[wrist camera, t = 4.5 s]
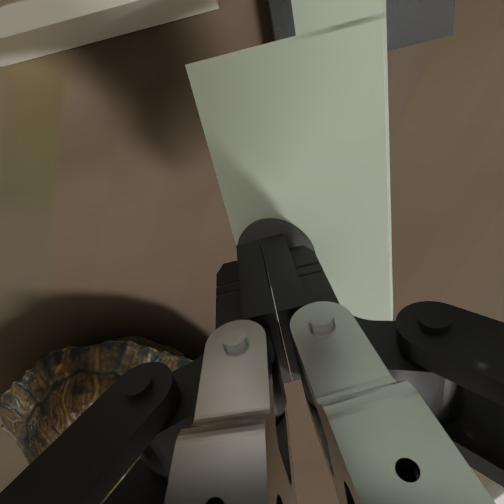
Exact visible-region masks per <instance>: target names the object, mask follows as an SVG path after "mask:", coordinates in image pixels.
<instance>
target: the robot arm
mask: <svg viewBox="0 0 504 504" xmlns="http://www.w3.org/2000/svg"><path fill="white" fill-rule="evenodd" d="M261 243H262V247H263V252H264V256H265V261H266V266H267V270H268V274H267V270H266V266H265V261H264V257H263V253H262V249H261V245H260V241H259V240H254V241H250V242H246V243H242V244H237V245H236V247H237V259H238V261H233V262H229V263H225V264H223V265H222V267H221V269H220V270H219V272H218V273H217V284H216V286H217V288H216V295H217V297H216V330H215V331H214V332H213V333H212V334H211V335H210V336H209V338H208V340H207V342H206V345H205V350H204V353H203V354H202V355H201V356H200V357H198V358H197V359H196V360H194V361H192V362H190V363H188V364H186V365H184V366H182V367H180V368H178V369H176V370H174V371H172V372H171V370H170V368H169V367H168V366H167V365H165V364H164V363H161V362H147V363H143V364H140V365H137V366H135V367H133V368H132V369H130V370H128V371H127V372H125V373H124V374H123V375H122V376H121V377H120V378H118V379H117V380H116V381H115V382H114V383H113V384H112V385H111V386H110V387H109V388H108V389H107V390H106V391H105V392H104V393H103V394H102V395H101V396H100V397H99V398H98V399H97V400H96V401H95V402H94V403H93V404H92V405H91V406H90V407H89V408H88V409H87V410H85V411H84V412H83V413H82V414H81V415H80V416H79V417H78V418H77V419H76V420H75V421H74V422H73V423H72V424H71V425H70V426H69V427H68V428H67V429H66V430H65V431H64V432H63V433H62V434H61V435H60V436H59V437H58V438H57V439H56V440H55V441H54V442H53V443H51V444H50V445H49V446H48V447H47V448H46V449H45V450H44V451H43V452H42V453H41V454H40V455H39V456H38V457H37V458H36V459H35V460H34V461H33V462H32V463H31V464H30V465H29V466H28V467H27V468H26V469H25V470H24V471H23V472H22V473H21V474H20V475H18V476H17V477H16V478H15V479H14V480H13V481H12V482H11V483H10V484H9V485H8V486H7V487H6V488H5V489H4V490H3V491H2V492H1V493H0V504H100V503H101V502H102V501H103V500H104V498H105V497H106V496H107V495H108V494H109V492H110V491H111V490H112V489H113V487H114V486H115V485H116V484H117V483H118V481H119V480H120V479H121V478H122V477H123V475H124V474H125V473H126V472H127V470H128V469H129V468H130V467H131V466H132V464H133V463H134V462H135V461H136V459H137V458H138V457H139V456H140V458H139V460H138V461H137V462H136V463H135V465H134V466H133V467H132V468H131V469H130V471H129V472H128V473H127V474H126V476H125V477H124V478H123V479H122V480H121V482H120V483H119V484H118V485H117V487H116V488H115V489H114V490H113V491H112V493H111V494H110V495H109V496H108V498H107V499H106V500H105V501H104V502H103V504H297V498H296V491H295V482H294V472H293V462H292V453H291V443H290V433H289V424H288V414H287V409H286V395H285V389H284V384H283V383H286V382H291V377H290V373H289V368H288V363H287V359H286V354H285V350H284V345H283V340H284V344H285V348H286V352H287V356H288V360H289V364H290V368H291V372H292V376H293V381H295V380H299V379H301V381H302V385H303V389H304V393H305V397H306V401H307V405H308V409H309V412H310V415H311V418H312V421H313V424H314V427H315V430H316V433H317V436H318V439H319V442H320V445H321V448H322V451H323V454H324V457H325V460H326V462H327V465H328V468H329V471H330V474H331V477H332V480H333V483H334V486H335V490H336V493H337V496H338V500H339V504H495V502H494V501H493V499H492V498H491V497H490V495H489V494H488V492H487V491H486V489H485V488H484V486H483V485H482V484H481V482H480V481H479V479H478V478H477V476H476V475H475V473H474V472H473V471H472V469H471V468H470V467H472V468H473V469H475V470H477V471H478V472H480V473H482V474H483V475H485V476H486V477H488V478H490V479H491V480H493V481H495V482H496V483H498V484H499V485H501V486H503V487H504V323H503V322H500V321H497V320H494V319H491V318H488V317H485V316H482V315H479V314H476V313H473V312H470V311H467V310H464V309H461V308H458V307H455V306H452V305H449V304H445V303H441V302H433V301H424V302H417V303H413V304H411V305H408V306H406V307H405V308H403V309H402V310H401V311H400V312H399V314H398V315H397V318H396V321H376V320H366V319H362V318H358V317H356V316H353V315H352V313H351V312H350V311H349V310H348V309H347V308H346V307H344V306H342V305H340V303H339V301H338V299H337V297H336V295H335V293H334V291H333V289H332V287H331V285H330V283H329V281H328V279H327V277H326V274H325V272H324V271H323V268H322V266H321V264H320V263H319V260H318V258H317V256H316V254H315V252H314V251H313V250H311V249H309V248H308V247H306V246H305V245H301V246H297V247H293V248H288V245H287V242H286V240H285V237H284V234H279V235H275V236H271V237H267V238H262V239H261ZM268 275H269V278H268ZM269 279H270V282H269ZM270 284H271V286H270ZM271 288H272V290H271ZM272 293H273V295H272ZM273 297H274V299H273ZM274 302H275V304H274ZM275 306H276V308H275ZM276 311H277V313H276ZM277 315H278V318H277ZM278 319H279V322H278ZM279 323H280V327H281V331H282V335H283V340H282V336H281V331H280V327H279Z"/></svg>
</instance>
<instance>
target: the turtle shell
mask: <svg viewBox="0 0 504 504" xmlns="http://www.w3.org/2000/svg"><path fill="white" fill-rule="evenodd" d="M192 361H193V360H190V359H188V358H187V357H185V356H184V355H183V354H182V353H181V352H179V351H178V350H176V349H175V348H174V347H172V346H164V345H161V344H158V343H155V342H153V341H150V340H148V339H146V338H144V337H141V336H132V335H130V336H127V337H123V338H120V339H117V340H114V341H105V342H103V343H101V344H98V345H94V344H91V345H86V346H80V347H76V346H69V347H67V348H65V349H58V350H55V351H52V352H50V353H49V354H48V356H47V357H46V358H40V359H39V360H38V362H37V363H36V365H35V366H34V367H33V368H32V369H29V370H26V373H25V374H24V375H23V377H22V380H19V381H14V382H13V384H12V386H11V387H10V389H9V390H8V391H5V392H3V393H2V394H1V396H0V398H1V399H2V402H1V403H0V416H1V418H2V420H3V423H4V424H3V425H2V426H0V427H2V428H3V429H4V430H5V431H6V432H7V433H8V435H9V436H10V437H11V438H12V439H13V440H14V441H15V442H16V444H17V445H18V446H19V447H20V448H21V450H22V451H23V453H24V455H25V457H26V459H27V461H28V462H29V464H31V463H32V462H33V461H34V460H35V459H36V458H37V457H38V456H39V455H40V454H41V453H42V452H43V451H44V450H45V449H46V448H47V447H48V446H49V445H50V444H51V443H53V442H54V441H55V440H56V439H57V438H58V437H59V436H60V435H61V434H62V433H63V432H64V431H65V430H66V429H67V428H68V427H69V426H70V425H71V424H72V423H73V422H74V421H75V420H76V419H77V418H78V417H79V416H80V415H81V414H82V413H83V412H84V411H85V410H87V409H88V408H89V407H90V406H91V405H92V404H93V403H94V402H95V401H96V400H97V399H98V398H99V397H100V396H101V395H102V394H103V393H104V392H105V391H106V390H107V389H108V388H109V387H110V386H111V385H112V384H113V383H114V382H115V381H116V380H117V379H118V378H120V377H121V376H122V375H123V374H124V373H125V372H127V371H128V370H130V369H132V368H133V367H135V366H137V365H140V364H143V363H147V362H161V363H164V364H165V365H167V366H168V367H169V368H170V370H171V372H172V371H174V370H176V369H178V368H180V367H182V366H184V365H186V364H188V363H190V362H192ZM139 458H140V456H139V457H138V458H137V459H136V461H135V462H134V463H133V464H132V466H131V467H130V468H129V469H128V470H127V472H126V473H125V474H124V475H123V477H122V478H121V479H120V480H119V481H118V483H117V484H116V485H115V486H114V487H113V489H112V490H111V491H110V492H109V494H108V495H107V496H106V497H105V498H104V500H103V501H102V502H101V503H100V504H103V502H104V501H105V500H106V499H107V498H108V496H109V495H110V494H111V493H112V491H113V490H114V489H115V488H116V487H117V485H118V484H119V483H120V482H121V480H122V479H123V478H124V477H125V476H126V474H127V473H128V472H129V471H130V469H131V468H132V467H133V466H134V465H135V463H136V462H137V461H138V460H139Z"/></svg>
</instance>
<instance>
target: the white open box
mask: <svg viewBox="0 0 504 504" xmlns="http://www.w3.org/2000/svg"><path fill="white" fill-rule="evenodd" d="M216 9H219V6H218V2H217V0H0V67H4V66H8V65H12V64H16V63H19V62H23V61H27V60H30V59H34V58H38V57H42V56H45V55H49V54H53V53H56V52H60V51H64V50H68V49H71V48H75V47H79V46H82V45H86V44H90V43H94V42H97V41H101V40H105V39H108V38H112V37H116V36H120V35H123V34H127V33H131V32H134V31H138V30H142V29H146V28H149V27H153V26H157V25H160V24H164V23H168V22H172V21H175V20H179V19H183V18H186V17H190V16H194V15H198V14H201V13H205V12H209V11H212V10H216Z"/></svg>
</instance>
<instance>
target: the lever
mask: <svg viewBox="0 0 504 504" xmlns="http://www.w3.org/2000/svg"><path fill="white" fill-rule="evenodd" d="M291 3H292V11H293V18H294V25H295V33H296V36H293V37H289V38H285V39H281V40H277V41H274V42H270V43H266V44H262V45H258V46H255V47H251V48H247V49H243V50H239V51H236V52H232V53H228V54H224V55H220V56H217V57H213V58H209V59H205V60H201V61H198V62H194V63H190V64H186V65H185V67H186V70H187V74H188V77H189V81H190V84H191V88H192V91H193V95H194V98H195V102H196V105H197V109H198V113H199V116H200V120H201V123H202V127H203V130H204V134H205V137H206V141H207V144H208V148H209V151H210V155H211V158H212V162H213V165H214V169H215V173H216V176H217V180H218V183H219V187H220V190H221V194H222V197H223V201H224V204H225V208H226V211H227V215H228V218H229V222H230V225H231V229H232V233H233V236H234V240H235V243H236V245H237V244H242V243H246V242H250V241H254V240H259V241H260V245H261V249H262V253H263V257H264V261H265V256H264V252H263V247H262V243H261V239H262V238H267V237H271V236H275V235H279V234H284V237H285V240H286V242H287V245H288V248H293V247H297V246H301V245H305V246H306V247H308V248H309V249H311V250H313V251H314V252H315V254H316V256H317V258H318V260H319V263H320V264H321V266H322V268H323V271H324V272H325V274H326V277H327V279H328V281H329V283H330V285H331V287H332V289H333V291H334V293H335V295H336V297H337V299H338V301H339V303H340V305H342V306H344V307H346V308H347V309H348V310H349V311H350V312H351V313H352V315H353V316H356V317H358V318H362V319H366V320H376V321H392V319H393V286H392V242H391V198H390V154H389V111H388V67H387V23H386V0H291ZM265 266H266V261H265ZM266 270H267V266H266ZM267 274H268V270H267ZM268 278H269V275H268ZM269 282H270V279H269ZM270 286H271V284H270ZM271 290H272V288H271ZM272 295H273V293H272ZM273 299H274V297H273ZM274 304H275V302H274ZM275 308H276V306H275ZM276 313H277V311H276ZM277 318H278V315H277ZM278 321H279V319H278Z"/></svg>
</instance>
